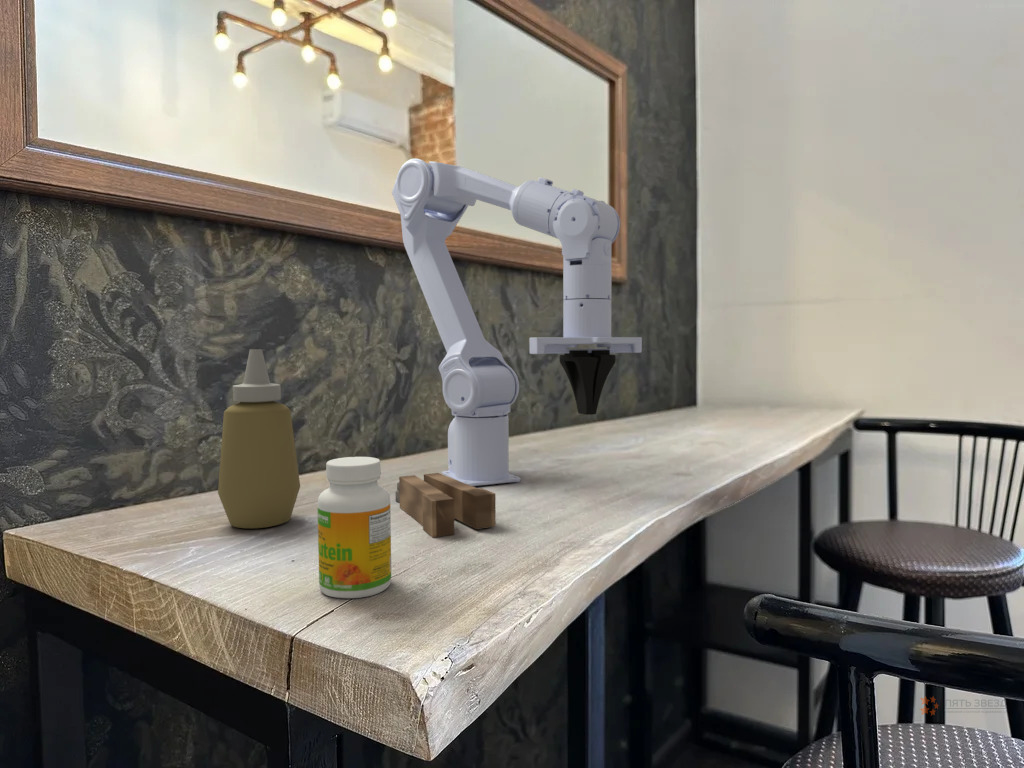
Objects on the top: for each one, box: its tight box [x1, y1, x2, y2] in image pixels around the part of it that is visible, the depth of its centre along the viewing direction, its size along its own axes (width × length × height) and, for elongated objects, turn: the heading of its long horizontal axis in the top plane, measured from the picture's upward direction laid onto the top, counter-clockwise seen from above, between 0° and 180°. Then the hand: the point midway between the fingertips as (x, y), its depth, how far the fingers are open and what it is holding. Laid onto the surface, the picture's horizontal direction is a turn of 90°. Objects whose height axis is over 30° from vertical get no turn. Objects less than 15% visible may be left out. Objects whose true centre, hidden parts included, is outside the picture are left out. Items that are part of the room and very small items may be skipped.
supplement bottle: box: [317, 456, 392, 599], centre depth 51 cm, size 5×5×10 cm
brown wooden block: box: [394, 474, 455, 538], centre depth 74 cm, size 18×4×4 cm, turn 25°
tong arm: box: [396, 472, 497, 530], centre depth 74 cm, size 18×4×3 cm, turn 30°
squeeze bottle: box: [217, 348, 301, 529], centre depth 70 cm, size 8×8×18 cm
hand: (587, 413), depth 82 cm, fingers closed
